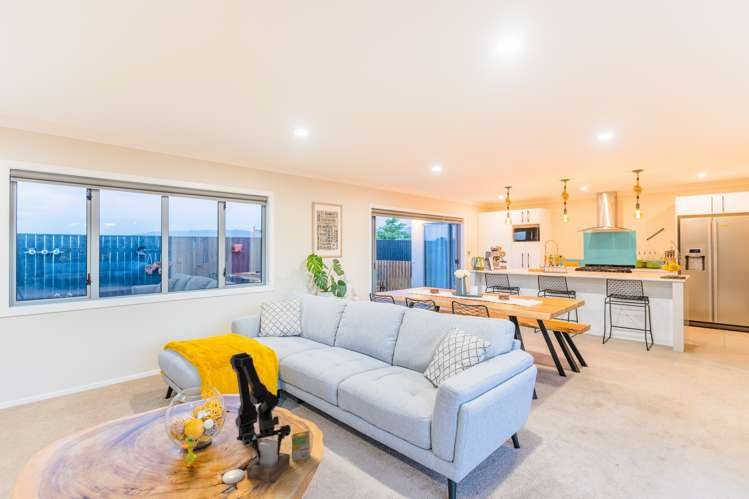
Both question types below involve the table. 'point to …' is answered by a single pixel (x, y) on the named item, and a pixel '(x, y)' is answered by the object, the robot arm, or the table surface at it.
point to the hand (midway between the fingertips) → (269, 457)
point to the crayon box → (300, 446)
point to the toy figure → (189, 451)
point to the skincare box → (268, 453)
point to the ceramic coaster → (233, 476)
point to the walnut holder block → (268, 469)
